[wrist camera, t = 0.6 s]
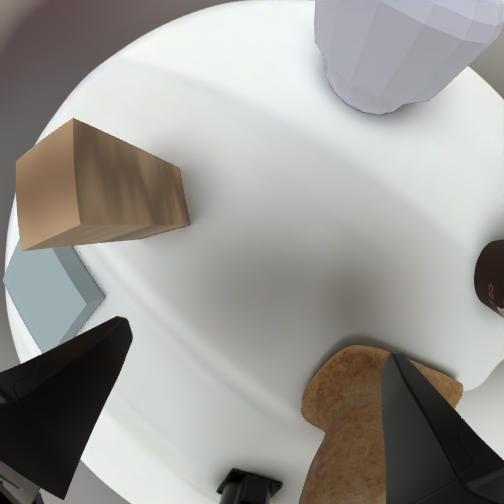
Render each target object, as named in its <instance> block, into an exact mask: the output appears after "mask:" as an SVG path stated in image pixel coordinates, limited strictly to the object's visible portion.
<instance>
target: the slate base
mask: <svg viewBox="0 0 504 504" xmlns="http://www.w3.org/2000/svg"><path fill="white" fill-rule="evenodd" d="M3 282H4V284H5V286H6V288H7V291H8V293H9V295H10V297H11V299H12V301H13V303H14V305H15V307H16V309H17V311H18V313H19V315H20V317H21V318H22V320H23V322H24V324H25V326H26V327H27V329H28V331H29V333H30V334H31V336H32V338H33V339H34V341H35V342H36V344H37V346H38V347H39V349H40V350H41V352H42V353H45V352H47V351H48V350H50V349H52V348H54V347H56V346H58V345H60V344H62V343H64V342H66V341H68V340H70V339H72V338H74V336H75V335H76V334H77V332H78V331H79V330H80V328H81V327H82V326H83V325H84V323H85V322H86V321H87V319H88V318H89V317H90V316H91V314H92V313H93V312H94V311H95V309H96V308H97V307H98V306H99V304H100V303H101V302H102V301H103V299H104V298H105V296H104V294H103V293H102V291H101V290H100V289H99V287H98V286H97V284H96V283H95V281H94V280H93V278H92V277H91V276H90V274H89V272H88V271H87V269H86V268H85V266H84V265H83V263H82V262H81V260H80V259H79V257H78V255H77V254H76V252H75V250H74V249H73V247H72V246H65V247H56V248H47V249H38V250H29V251H22V249H21V243H20V239H19V241H18V243H17V246H16V248H15V250H14V253H13V255H12V257H11V260H10V262H9V265H8V267H7V270H6V273H5V275H4V278H3Z"/></svg>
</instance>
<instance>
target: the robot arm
mask: <svg viewBox="0 0 504 504" xmlns="http://www.w3.org/2000/svg"><path fill="white" fill-rule="evenodd" d="M132 339H133V335H132V331H131V328H130V325H129V321H128V320H127V319H126V318H124V317H120V316H116V317H114V318H112V319H110V320H108V321H106V322H104V323H102V324H100V325H98V326H96V327H94V328H92V329H90V330H88V331H86V332H84V333H82V334H80V335H78V336H76V337H74V338H72V339H70V340H68V341H66V342H64V343H62V344H60V345H58V346H56V347H54V348H52V349H50V350H48V351H47V352H45V353H43V354H41V355H39V356H37V357H35V358H33V359H31V360H28V361H26V362H24V363H22V364H20V365H18V366H15V367H13V368H10V369H8V370H5V371H3V372H0V504H44V502H43V500H42V496H41V493H40V492H39V490H40V488H42V489H44V490H45V491H47V492H49V493H51V494H53V495H54V496H56V497H58V498H60V499H62V500H64V499H65V496H66V494H67V491H68V489H69V486H70V483H71V481H72V478H73V476H74V473H75V471H76V468H77V466H78V463H79V460H80V458H81V456H82V453H83V451H84V449H85V446H86V444H87V442H88V440H89V437H90V435H91V433H92V431H93V428H94V426H95V424H96V422H97V420H98V417H99V415H100V413H101V411H102V409H103V407H104V405H105V403H106V400H107V398H108V396H109V394H110V392H111V390H112V388H113V386H114V384H115V382H116V380H117V378H118V376H119V374H120V371H121V369H122V366H123V364H124V361H125V358H126V356H127V353H128V350H129V348H130V345H131V343H132ZM381 413H382V424H383V435H384V449H385V467H386V504H504V460H503V459H502V458H501V457H499V455H498V454H497V453H495V452H494V451H493V450H492V449H491V448H490V447H489V446H488V445H487V444H486V443H485V442H484V441H483V440H482V439H481V438H480V437H479V436H478V435H477V434H476V433H475V432H474V431H473V430H472V428H471V427H470V426H469V425H468V424H467V423H466V422H465V420H464V419H463V418H462V419H461V416H460V415H459V414H458V413H457V412H456V410H455V409H454V408H453V407H452V406H451V405H450V404H449V402H448V401H447V400H446V399H445V398H444V397H443V396H442V395H441V394H440V392H439V391H438V390H437V389H436V388H435V387H434V386H433V385H432V384H431V383H430V381H429V380H428V379H427V378H426V377H425V376H424V375H423V374H422V373H421V372H420V371H419V370H418V369H417V367H416V366H415V365H414V364H413V363H412V362H411V361H410V360H409V359H408V358H407V357H406V356H405V355H404V354H403V353H402V352H391V353H390V354H389V355H388V357H387V359H386V361H385V363H384V365H383V367H382V370H381ZM281 487H282V483H281V482H278V481H274V480H270V479H266V478H262V477H259V476H255V475H252V474H248V473H245V472H242V471H239V470H235V469H232V470H230V472H229V473H228V475H227V476H226V478H225V479H224V480H223V482H222V483H221V485H220V486H219V487H218V489H217V493H219V494H222V497H221V500H220V503H219V504H270V498H271V497H272V496H273V495H274V494H275V493H276V492H277V491H278V490H279V489H280V488H281Z"/></svg>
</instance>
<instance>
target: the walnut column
mask: <svg viewBox="0 0 504 504" xmlns="http://www.w3.org/2000/svg"><path fill="white" fill-rule="evenodd" d="M16 201H17V215H18V226H19V235H20V243H21V249H22V251H29V250H38V249H47V248H56V247H65V246H74V245H84V244H94V243H104V242H115V241H125V240H136V239H143V238H146V237H150V236H153V235H157V234H160V233H164V232H167V231H171V230H175V229H178V228H182V227H186V226H189V225H190V220H189V216H188V211H187V206H186V201H185V196H184V191H183V186H182V181H181V175H180V170H179V168H178V167H176V166H174V165H172V164H170V163H168V162H166V161H164V160H162V159H160V158H158V157H156V156H154V155H152V154H150V153H148V152H146V151H144V150H142V149H139V148H137V147H135V146H133V145H131V144H129V143H127V142H125V141H123V140H121V139H118V138H116V137H114V136H112V135H110V134H108V133H105V132H103V131H101V130H99V129H97V128H94V127H92V126H90V125H88V124H86V123H83V122H81V121H79V120H76V119H74V118H72V119H71V120H69V121H68V122H66V123H65V124H64V125H62V126H61V127H59V128H58V129H56V130H55V131H54V132H52V133H51V134H49V135H48V136H47V137H45V138H44V139H43V140H42V141H40V142H39V143H38V144H36V145H35V146H34V147H33V148H31V149H30V150H29V151H28V152H27V153H25V154H24V155H23V156H22V157H21V158H19V159H18V160H17V161H16Z"/></svg>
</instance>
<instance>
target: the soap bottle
mask: <svg viewBox="0 0 504 504" xmlns="http://www.w3.org/2000/svg"><path fill="white" fill-rule="evenodd" d="M503 25H504V0H315V17H314V32H315V43H316V45H317V46H318V48H319V50H320V51H321V53H322V55H323V56H324V58H325V60H326V62H327V78H328V80H329V82H330V84H331V86H332V88H333V90H334V92H335V93H336V94H337V95H338V96H339V97H340V98H342V99H343V100H344V101H345V102H346V103H347V104H348V105H350V106H352V107H354V108H356V109H358V110H360V111H362V112H367V113H373V114H378V115H379V114H384V113H390V112H394V111H396V110H397V109H398V108H399V107H401V106H402V105H403V104H409V103H416V102H423V101H429V100H431V99H432V98H433V97H434V96H435V95H436V94H438V93H439V92H440V91H441V90H442V89H443V88H445V87H446V86H447V85H448V84H449V83H450V82H451V81H452V80H453V79H454V78H455V77H456V76H457V75H458V74H459V73H460V72H461V71H463V70H464V69H465V68H466V67H467V66H468V65H469V64H470V63H471V62H472V61H473V60H474V59H475V58H476V57H477V56H478V55H479V54H480V53H481V52H482V51H483V50H484V49H486V48H487V47H488V46H489V45H490V44H491V43H492V42H493V41H494V40H495V39H496V38H497V37H498V36H499V34H500V32H501V30H502V28H503Z"/></svg>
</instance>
